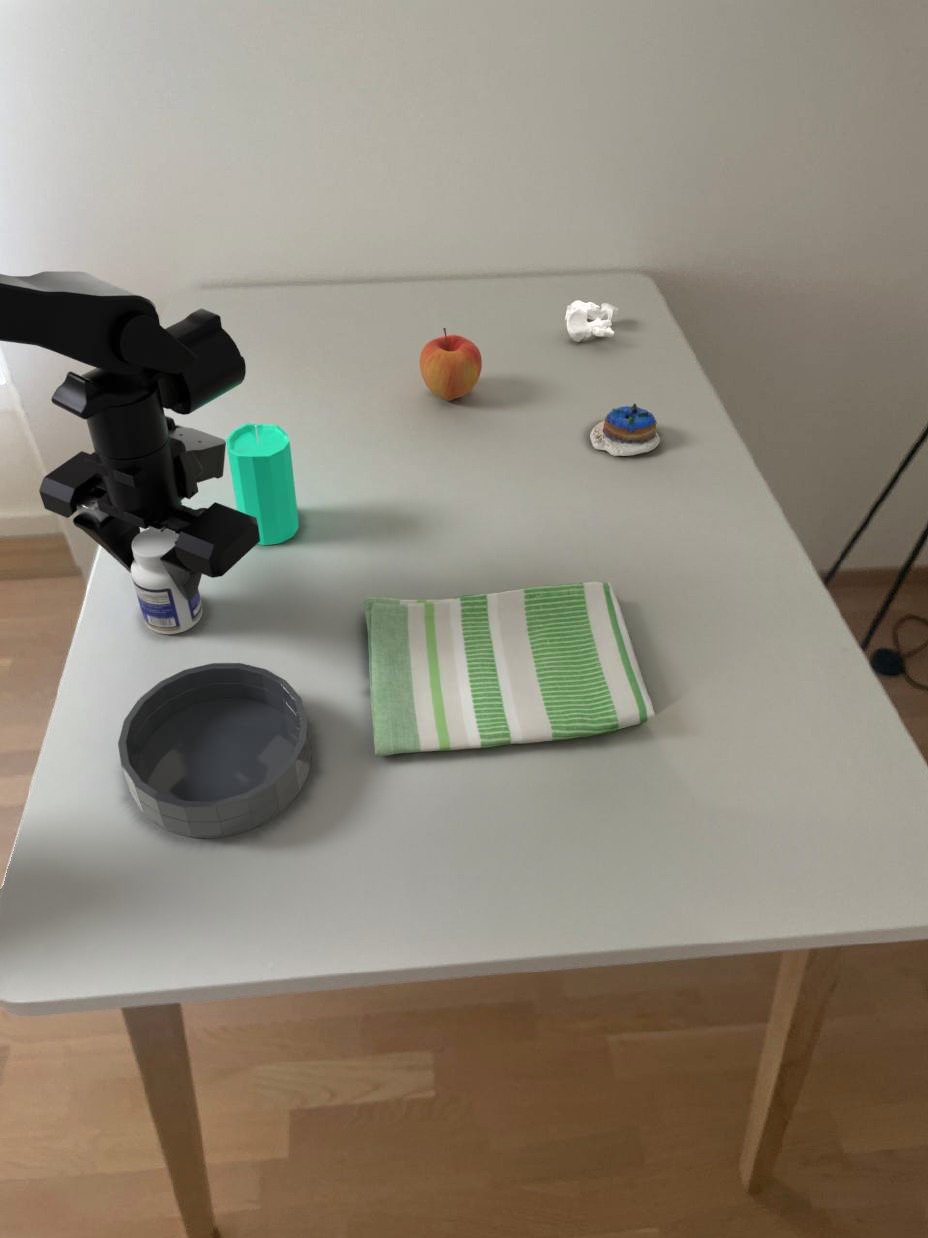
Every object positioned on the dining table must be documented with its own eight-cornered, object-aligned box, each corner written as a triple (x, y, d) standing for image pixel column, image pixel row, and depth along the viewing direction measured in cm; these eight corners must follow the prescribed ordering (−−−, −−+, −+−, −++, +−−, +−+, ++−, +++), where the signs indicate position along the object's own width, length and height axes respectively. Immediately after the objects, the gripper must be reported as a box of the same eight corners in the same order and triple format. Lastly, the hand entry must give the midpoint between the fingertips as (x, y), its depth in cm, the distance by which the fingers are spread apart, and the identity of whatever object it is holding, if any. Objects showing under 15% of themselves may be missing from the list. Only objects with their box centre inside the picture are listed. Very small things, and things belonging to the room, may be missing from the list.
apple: (444, 417, 115) (446, 356, 109) (407, 390, 119) (407, 330, 113) (492, 398, 118) (496, 337, 112) (454, 372, 122) (456, 312, 116)
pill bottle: (182, 588, 92) (165, 514, 86) (214, 616, 90) (199, 542, 84) (132, 614, 90) (111, 540, 83) (164, 644, 87) (145, 570, 81)
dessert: (660, 417, 115) (664, 397, 109) (657, 471, 114) (660, 453, 108) (592, 414, 116) (592, 393, 110) (588, 467, 115) (588, 449, 109)
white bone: (616, 323, 125) (565, 312, 125) (609, 353, 128) (559, 342, 128) (622, 295, 130) (573, 284, 130) (614, 323, 133) (567, 313, 134)
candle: (294, 546, 97) (283, 445, 89) (234, 544, 97) (217, 442, 89) (302, 508, 101) (292, 409, 93) (245, 506, 101) (229, 406, 93)
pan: (142, 861, 72) (131, 830, 69) (119, 718, 81) (109, 686, 78) (330, 808, 75) (327, 777, 73) (288, 678, 85) (284, 646, 82)
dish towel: (363, 609, 91) (362, 587, 89) (607, 593, 94) (611, 572, 92) (375, 762, 79) (374, 741, 77) (656, 739, 81) (662, 718, 79)
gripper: (290, 423, 78) (305, 569, 89) (110, 361, 84) (144, 505, 95) (202, 496, 71) (230, 645, 82) (12, 423, 77) (61, 571, 88)
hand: (166, 586), depth 87 cm, fingers closed on pill bottle, 5 cm apart
